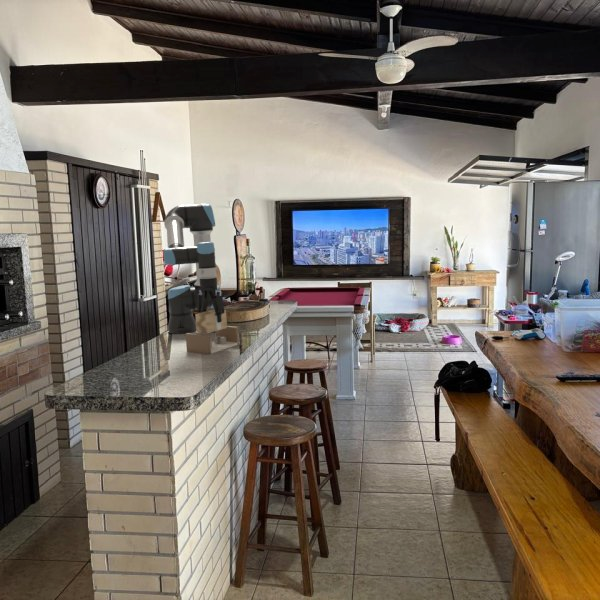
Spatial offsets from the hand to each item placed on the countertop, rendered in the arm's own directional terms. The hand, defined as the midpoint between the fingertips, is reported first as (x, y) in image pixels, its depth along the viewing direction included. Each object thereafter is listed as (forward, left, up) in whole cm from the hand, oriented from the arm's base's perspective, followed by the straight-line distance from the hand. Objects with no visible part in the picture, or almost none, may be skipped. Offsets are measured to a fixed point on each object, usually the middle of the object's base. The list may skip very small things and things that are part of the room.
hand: (212, 328), depth 252 cm
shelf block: (0, 0, 0) cm, 0 cm away
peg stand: (0, 0, -9) cm, 9 cm away
